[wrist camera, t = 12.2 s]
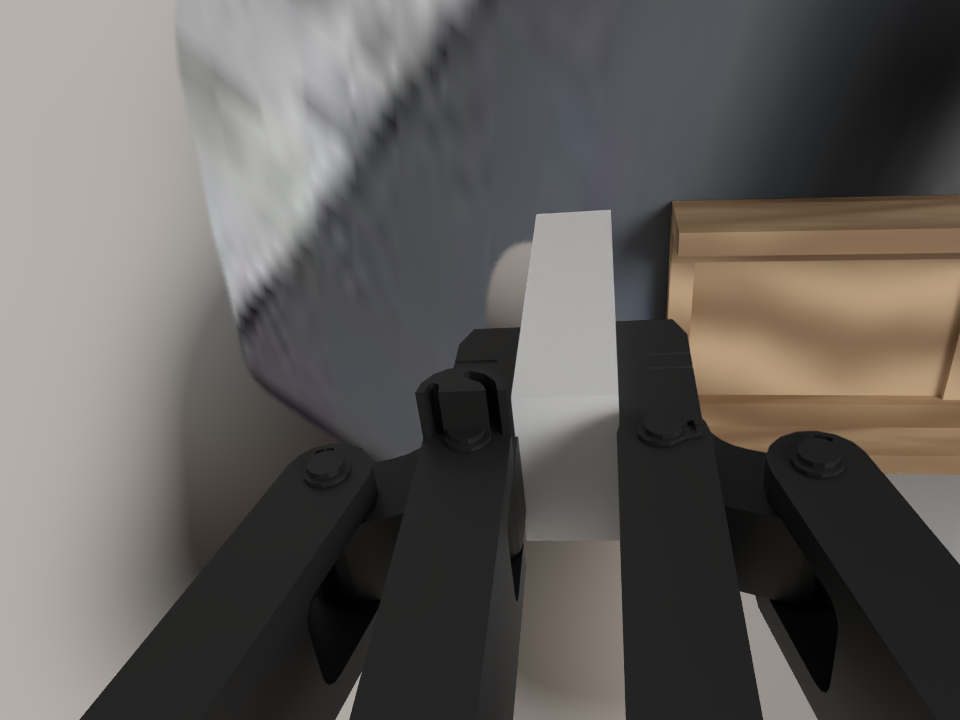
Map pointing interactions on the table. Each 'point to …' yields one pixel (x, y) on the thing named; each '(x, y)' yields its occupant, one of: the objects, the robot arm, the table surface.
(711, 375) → the oak box
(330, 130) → the table surface
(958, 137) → the table surface
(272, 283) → the table surface
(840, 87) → the table surface
